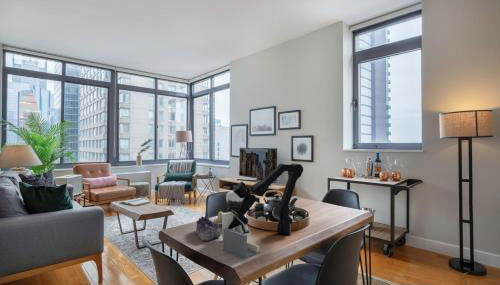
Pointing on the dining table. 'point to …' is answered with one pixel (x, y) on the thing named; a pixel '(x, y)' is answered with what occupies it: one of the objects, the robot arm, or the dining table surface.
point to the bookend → (238, 244)
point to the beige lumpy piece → (219, 219)
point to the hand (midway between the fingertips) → (226, 228)
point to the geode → (207, 229)
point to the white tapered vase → (227, 220)
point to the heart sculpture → (233, 197)
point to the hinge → (242, 228)
